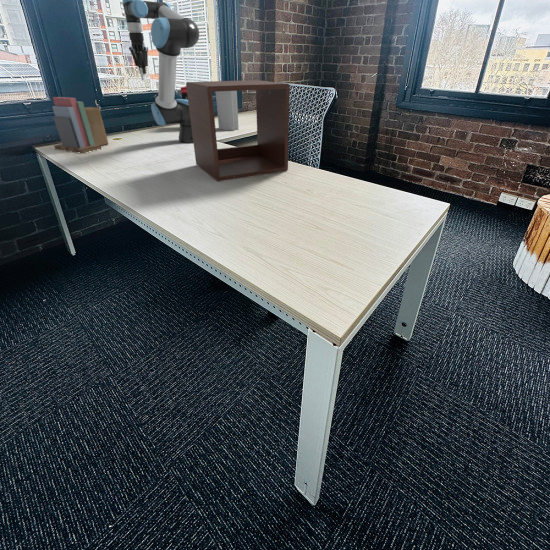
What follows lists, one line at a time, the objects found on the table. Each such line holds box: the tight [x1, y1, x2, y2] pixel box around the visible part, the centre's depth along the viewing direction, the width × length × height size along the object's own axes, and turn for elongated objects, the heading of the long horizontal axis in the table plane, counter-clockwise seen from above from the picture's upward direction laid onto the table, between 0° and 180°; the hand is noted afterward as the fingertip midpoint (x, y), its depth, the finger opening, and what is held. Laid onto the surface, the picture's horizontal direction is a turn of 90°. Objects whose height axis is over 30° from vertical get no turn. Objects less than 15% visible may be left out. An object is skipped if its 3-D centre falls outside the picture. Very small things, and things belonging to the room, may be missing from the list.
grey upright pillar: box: [215, 91, 240, 132], centre depth 234 cm, size 14×6×30 cm, turn 58°
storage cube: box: [185, 79, 291, 182], centre depth 148 cm, size 35×29×35 cm
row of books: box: [52, 96, 95, 148], centre depth 183 cm, size 15×10×24 cm
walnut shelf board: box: [53, 143, 102, 154], centre depth 189 cm, size 24×12×2 cm, turn 64°
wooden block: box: [84, 106, 109, 147], centre depth 193 cm, size 10×10×20 cm
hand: (144, 80), depth 202 cm, fingers closed
